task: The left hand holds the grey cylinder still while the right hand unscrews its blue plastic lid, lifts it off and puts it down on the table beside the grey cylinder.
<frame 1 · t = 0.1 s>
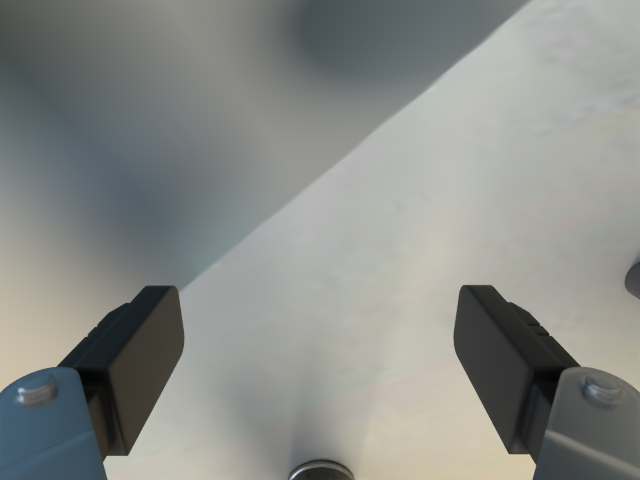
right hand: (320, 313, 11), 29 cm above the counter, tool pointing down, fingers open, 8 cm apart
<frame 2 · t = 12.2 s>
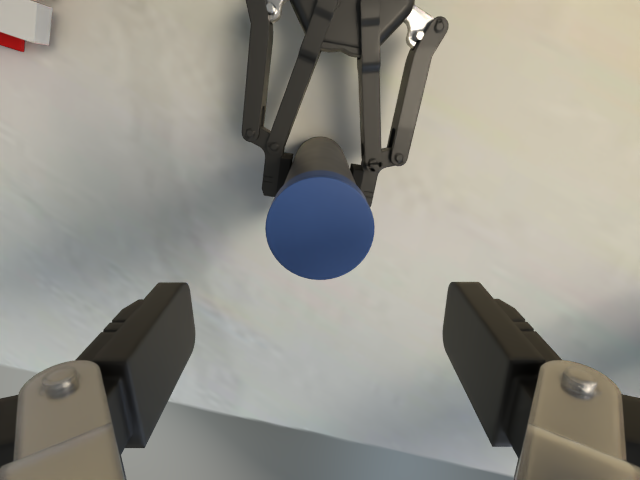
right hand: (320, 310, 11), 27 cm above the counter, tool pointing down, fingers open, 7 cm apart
lid: (319, 228, 18), point 19 cm above the counter, screwed on, not yet turned
grey cylinder: (320, 162, 36), on the counter, touching left hand
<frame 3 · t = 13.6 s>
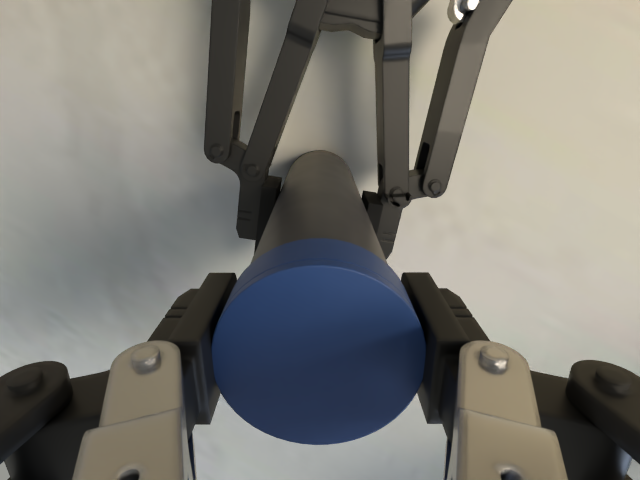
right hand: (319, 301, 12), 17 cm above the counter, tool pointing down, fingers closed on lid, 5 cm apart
lid: (318, 354, 9), point 19 cm above the counter, screwed on, not yet turned, touching right hand
grey cylinder: (319, 183, 27), on the counter, touching left hand
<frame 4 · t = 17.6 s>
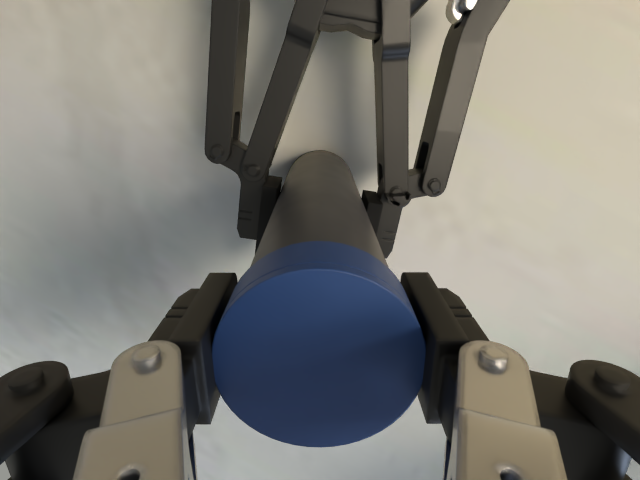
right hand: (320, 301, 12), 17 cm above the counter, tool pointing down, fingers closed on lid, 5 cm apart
lid: (318, 357, 9), point 19 cm above the counter, turned 93° so far, risen 0.1 cm, still on its thread, touching right hand
grey cylinder: (319, 183, 27), on the counter, touching left hand
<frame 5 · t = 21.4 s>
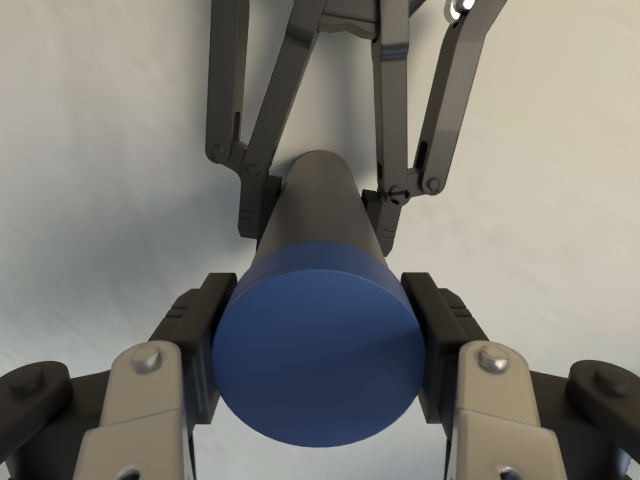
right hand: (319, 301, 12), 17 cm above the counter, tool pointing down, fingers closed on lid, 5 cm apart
lid: (318, 358, 9), point 19 cm above the counter, turned 186° so far, risen 0.3 cm, still on its thread, touching right hand
grey cylinder: (319, 183, 28), on the counter, touching left hand
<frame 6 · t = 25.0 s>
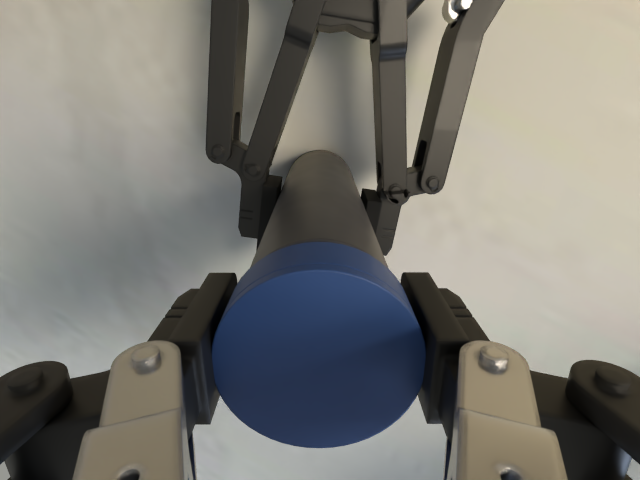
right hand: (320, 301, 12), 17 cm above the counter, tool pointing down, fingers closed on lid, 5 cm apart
lid: (318, 358, 9), point 20 cm above the counter, turned 280° so far, risen 0.4 cm, still on its thread, touching right hand
grey cylinder: (319, 183, 28), on the counter, touching left hand
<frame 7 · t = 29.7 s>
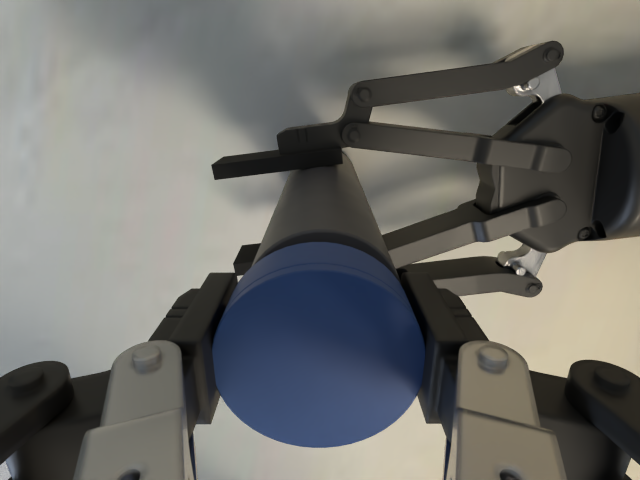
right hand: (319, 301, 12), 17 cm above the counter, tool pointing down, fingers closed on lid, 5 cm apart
left hand: (230, 215, 22), fingers closed on grey cylinder, 5 cm apart
lid: (318, 358, 9), point 20 cm above the counter, off its thread, touching right hand
grey cylinder: (322, 179, 28), on the counter, touching right hand, left hand
when the right hand's fingers open (0 cm above the counter, at t = 35.8 s): lid drops 2 cm, point 1 cm above the counter.
when the left hand's fingers open (7 cm above the counter, at t = 36.7 s): grey cylinder stays where it is, on the counter.
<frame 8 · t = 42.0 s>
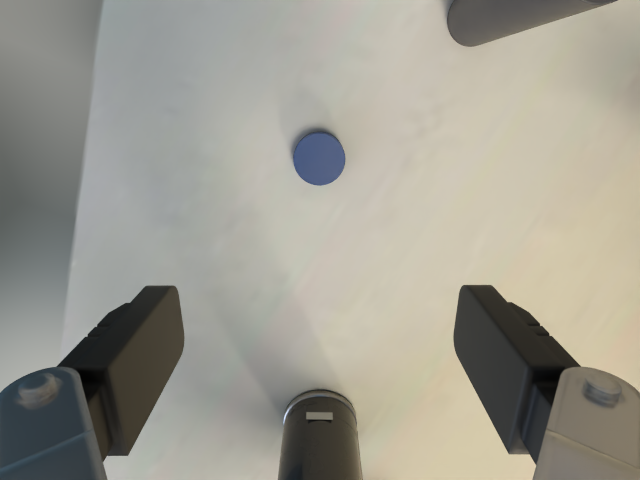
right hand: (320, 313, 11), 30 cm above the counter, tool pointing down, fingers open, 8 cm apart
lid: (319, 159, 38), point 1 cm above the counter, off its thread
grey cylinder: (473, 18, 35), on the counter
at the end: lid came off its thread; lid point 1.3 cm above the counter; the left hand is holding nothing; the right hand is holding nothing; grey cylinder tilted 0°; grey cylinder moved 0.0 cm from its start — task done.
